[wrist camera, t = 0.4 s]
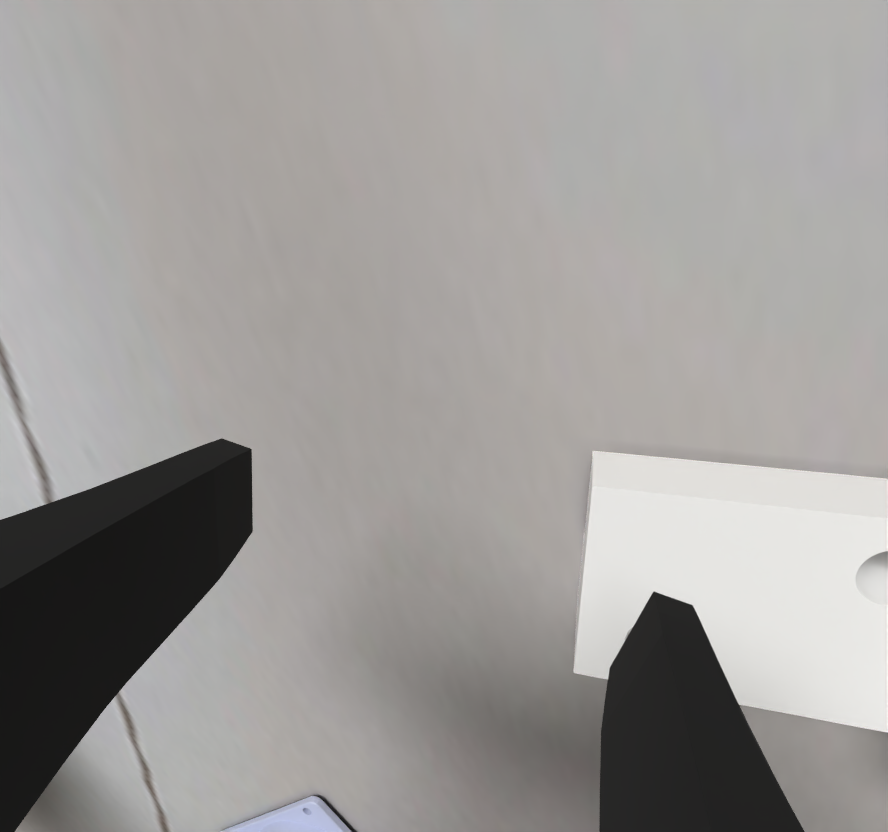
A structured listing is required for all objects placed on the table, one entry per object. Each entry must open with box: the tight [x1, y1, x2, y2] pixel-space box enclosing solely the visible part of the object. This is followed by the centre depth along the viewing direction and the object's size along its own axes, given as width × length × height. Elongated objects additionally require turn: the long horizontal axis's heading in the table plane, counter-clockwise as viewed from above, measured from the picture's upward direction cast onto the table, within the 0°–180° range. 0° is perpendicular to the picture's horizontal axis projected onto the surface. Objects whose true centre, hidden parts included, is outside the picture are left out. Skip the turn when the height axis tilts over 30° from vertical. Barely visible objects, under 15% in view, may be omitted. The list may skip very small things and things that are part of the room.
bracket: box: [573, 451, 888, 733], centre depth 16 cm, size 13×7×8 cm, turn 91°
